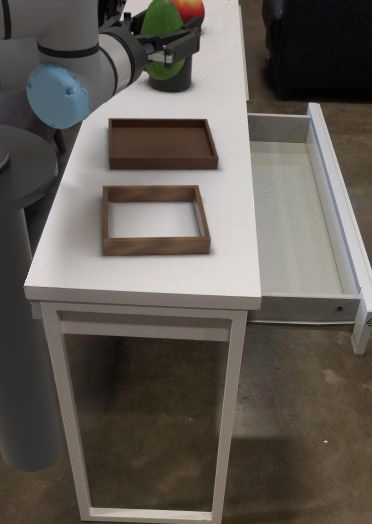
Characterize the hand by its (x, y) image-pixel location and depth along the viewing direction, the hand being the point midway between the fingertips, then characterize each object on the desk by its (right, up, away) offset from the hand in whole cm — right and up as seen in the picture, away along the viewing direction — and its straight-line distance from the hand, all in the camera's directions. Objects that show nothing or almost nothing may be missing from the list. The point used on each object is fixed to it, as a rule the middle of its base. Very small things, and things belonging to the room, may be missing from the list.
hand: (175, 21), depth 95 cm
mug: (-3, +7, +34) cm, 35 cm away
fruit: (+1, +34, +59) cm, 68 cm away
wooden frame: (-3, -35, -5) cm, 35 cm away
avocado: (-2, -8, +3) cm, 9 cm away
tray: (-3, -16, +13) cm, 21 cm away
